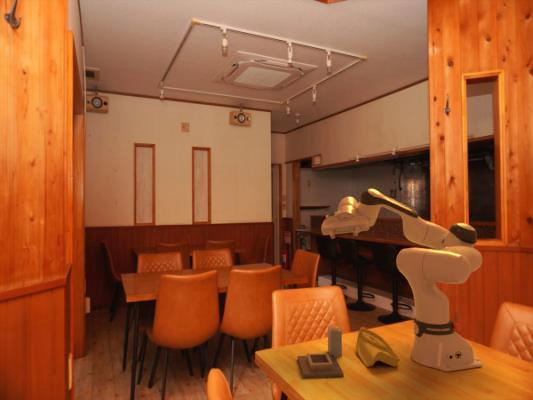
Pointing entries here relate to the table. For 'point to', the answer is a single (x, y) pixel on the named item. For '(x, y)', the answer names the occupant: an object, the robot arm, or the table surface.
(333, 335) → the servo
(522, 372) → the table surface
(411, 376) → the table surface
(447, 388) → the table surface
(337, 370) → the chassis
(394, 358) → the plastic component
